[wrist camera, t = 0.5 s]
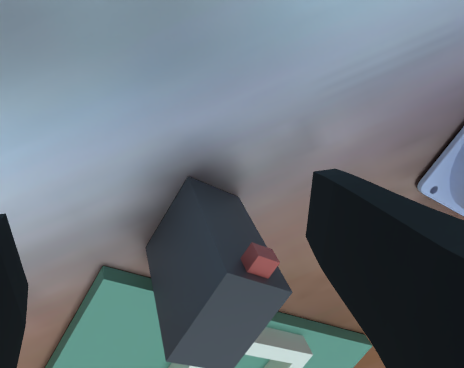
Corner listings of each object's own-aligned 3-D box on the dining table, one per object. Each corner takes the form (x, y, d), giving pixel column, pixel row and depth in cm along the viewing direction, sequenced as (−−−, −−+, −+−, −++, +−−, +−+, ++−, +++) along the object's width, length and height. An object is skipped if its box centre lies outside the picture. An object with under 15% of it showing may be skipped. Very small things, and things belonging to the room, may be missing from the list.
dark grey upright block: (246, 184, 22) (304, 276, 16) (188, 273, 23) (221, 385, 18) (196, 162, 20) (239, 255, 14) (138, 259, 22) (156, 375, 16)
